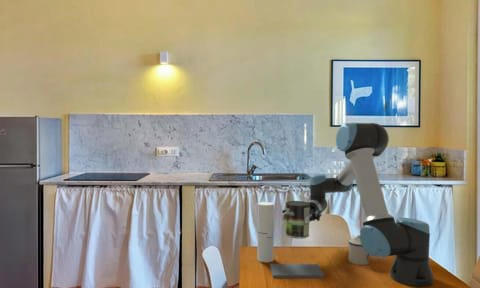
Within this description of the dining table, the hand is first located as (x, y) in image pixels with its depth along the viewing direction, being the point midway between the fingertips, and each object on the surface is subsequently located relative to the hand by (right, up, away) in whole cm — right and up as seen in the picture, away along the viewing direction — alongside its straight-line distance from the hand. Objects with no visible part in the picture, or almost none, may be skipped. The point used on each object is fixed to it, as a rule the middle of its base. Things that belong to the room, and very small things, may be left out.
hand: (293, 219), depth 157 cm
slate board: (0, -20, -6) cm, 21 cm away
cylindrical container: (-12, -20, +7) cm, 24 cm away
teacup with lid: (+29, -20, +7) cm, 36 cm away
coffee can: (+2, -8, +4) cm, 9 cm away
